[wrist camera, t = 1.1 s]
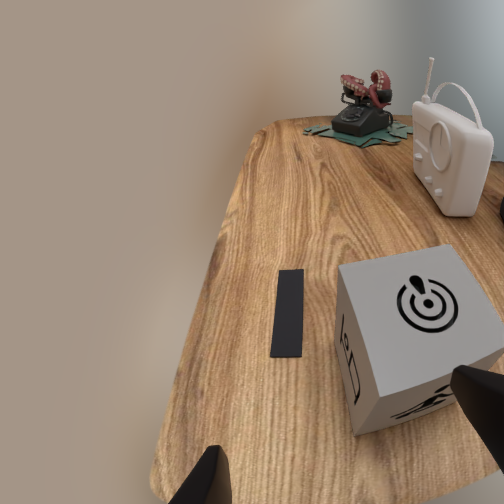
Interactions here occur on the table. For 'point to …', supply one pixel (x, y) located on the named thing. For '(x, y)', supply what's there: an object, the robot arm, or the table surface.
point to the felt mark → (288, 315)
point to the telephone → (365, 113)
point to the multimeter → (502, 208)
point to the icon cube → (409, 334)
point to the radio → (450, 153)
